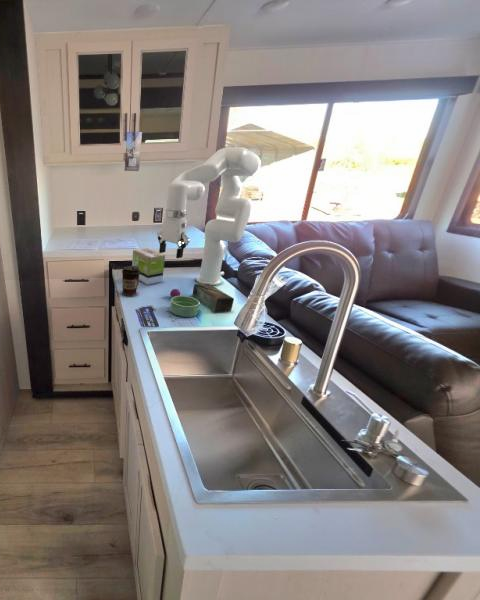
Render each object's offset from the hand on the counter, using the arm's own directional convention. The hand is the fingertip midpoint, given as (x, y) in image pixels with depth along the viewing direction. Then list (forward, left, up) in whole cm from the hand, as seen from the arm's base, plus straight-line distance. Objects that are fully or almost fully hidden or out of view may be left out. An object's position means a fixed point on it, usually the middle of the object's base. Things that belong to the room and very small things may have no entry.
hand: (170, 255), depth 135 cm
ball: (-4, +2, -18) cm, 19 cm away
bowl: (+4, +14, -20) cm, 25 cm away
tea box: (-11, -24, -21) cm, 34 cm away
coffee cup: (+10, -13, -21) cm, 27 cm away
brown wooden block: (-13, +14, -21) cm, 28 cm away
